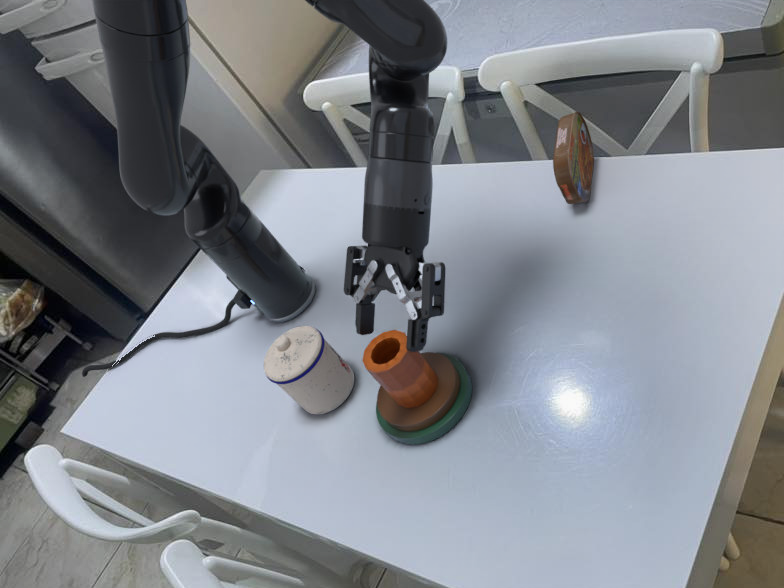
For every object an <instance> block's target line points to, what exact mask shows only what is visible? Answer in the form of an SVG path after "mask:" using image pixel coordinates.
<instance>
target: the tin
mask: <svg viewBox="0 0 784 588" xmlns="http://www.w3.org/2000/svg"><path fill="white" fill-rule="evenodd" d="M594 161H595V160H594V146H593V142H592V138H591V134H590V130H589V128H588V125H587V122H586V120H585V118H584V117H583V114H582V113H581V112H579V111H574V112H573V113H570V114H566V115H564V116H561V117H560V118H559V119H558V122H557V128H556V135H555V142H554V148H553V154H552V168H553V174H554V179H555V183H556V185H557V187H558V189H559V190H560V192H561V195H562V197H563V198H564V201H565V203H567V204H568V205H576V204H580V203H585V202H586V203H587V202H588V201H589V200H590V197H591V190H592V179H593V169H594Z"/></svg>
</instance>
